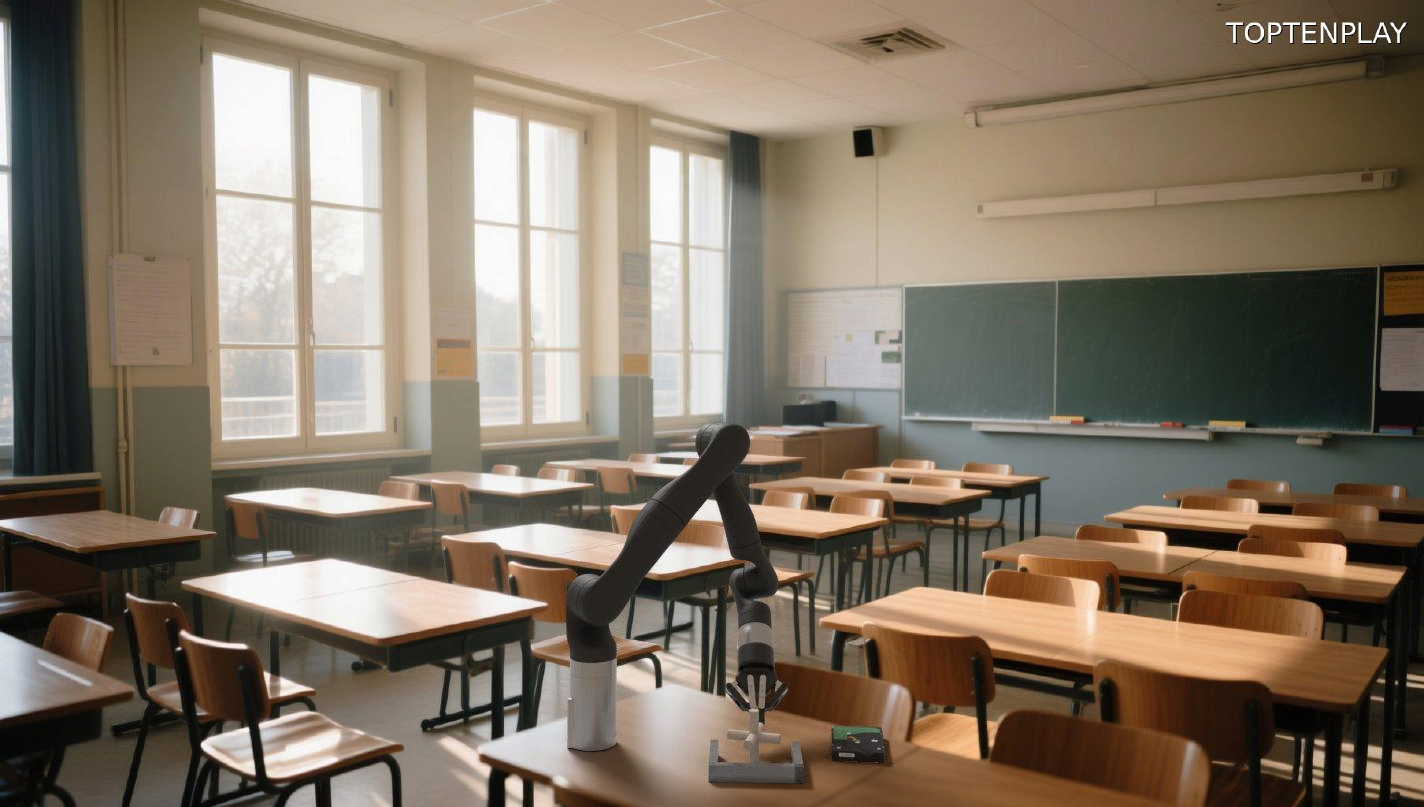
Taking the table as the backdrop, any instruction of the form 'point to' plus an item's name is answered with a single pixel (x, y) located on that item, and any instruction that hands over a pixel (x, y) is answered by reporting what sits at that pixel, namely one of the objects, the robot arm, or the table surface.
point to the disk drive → (857, 744)
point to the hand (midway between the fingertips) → (757, 729)
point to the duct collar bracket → (756, 769)
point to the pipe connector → (754, 736)
